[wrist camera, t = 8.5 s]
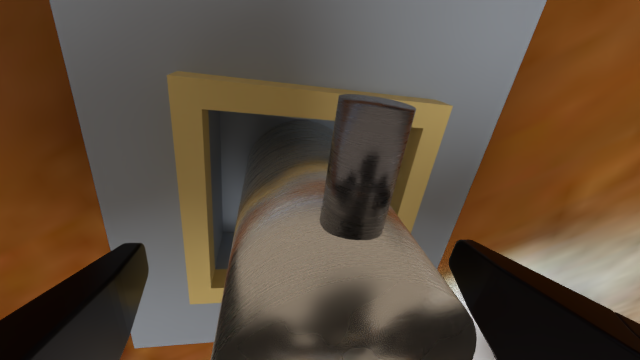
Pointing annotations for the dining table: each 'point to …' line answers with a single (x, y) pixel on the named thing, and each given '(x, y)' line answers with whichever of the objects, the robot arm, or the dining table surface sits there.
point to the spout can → (334, 250)
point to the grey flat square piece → (270, 116)
